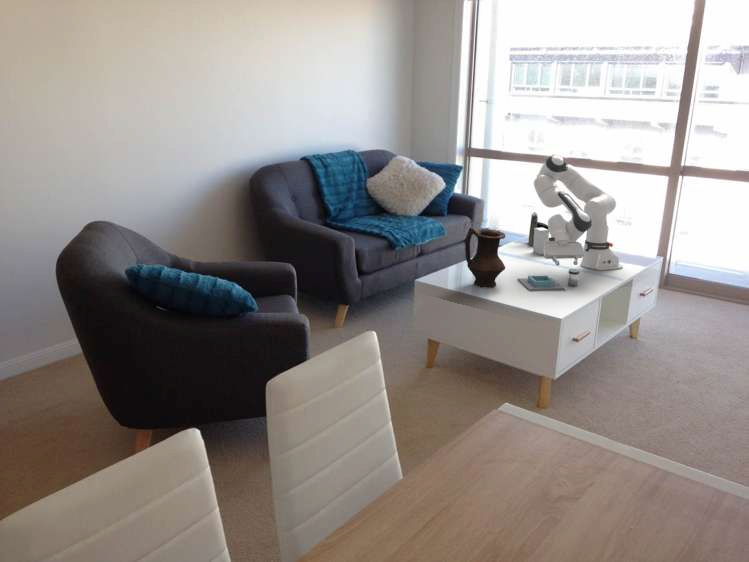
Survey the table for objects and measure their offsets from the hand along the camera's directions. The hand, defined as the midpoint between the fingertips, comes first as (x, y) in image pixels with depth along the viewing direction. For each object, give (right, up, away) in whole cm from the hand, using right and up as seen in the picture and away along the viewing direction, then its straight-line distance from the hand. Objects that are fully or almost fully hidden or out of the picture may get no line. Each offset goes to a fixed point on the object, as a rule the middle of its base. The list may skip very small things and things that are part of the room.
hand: (566, 264), depth 330 cm
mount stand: (-13, -10, 0) cm, 17 cm away
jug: (-43, -10, -1) cm, 44 cm away
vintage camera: (+8, +14, +82) cm, 84 cm away
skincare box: (+2, +8, +62) cm, 63 cm away
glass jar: (+3, -11, 0) cm, 11 cm away
